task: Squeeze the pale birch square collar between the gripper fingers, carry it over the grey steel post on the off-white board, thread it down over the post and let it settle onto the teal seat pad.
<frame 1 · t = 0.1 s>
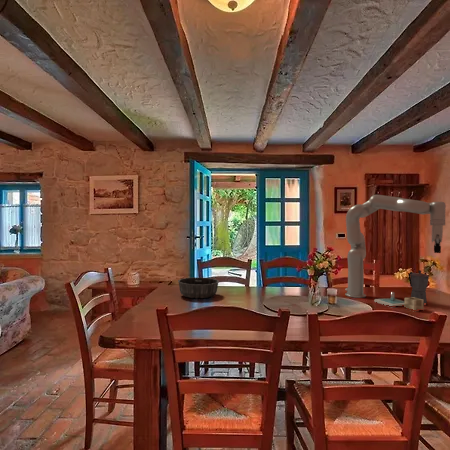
hand: (437, 252, 195), 31 cm above the table, tool pointing down, fingers open, 9 cm apart
moka pot: (417, 303, 200), on the table
post board: (392, 303, 198), on the table
bundt pan: (198, 296, 216), on the table
birch collar: (413, 309, 185), on the table
steel post: (392, 296, 198), on the post board, point 4 cm above the table
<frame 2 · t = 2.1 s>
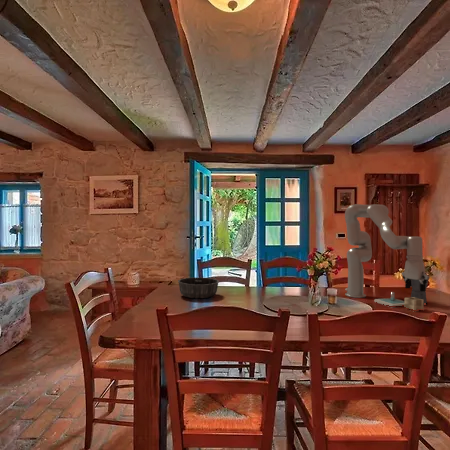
hand: (415, 289, 185), 11 cm above the table, tool pointing down, fingers open, 9 cm apart
nothing on the table moved.
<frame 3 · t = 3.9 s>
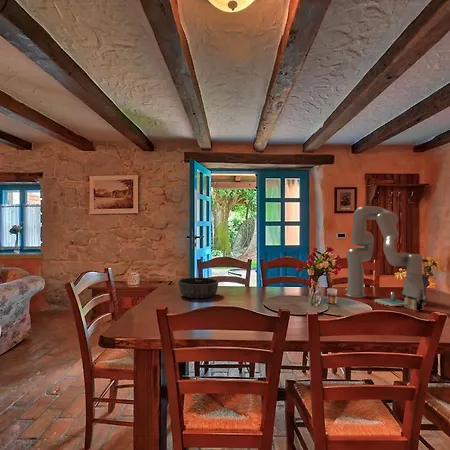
hand: (413, 308, 185), 1 cm above the table, tool pointing down, fingers closed on birch collar, 6 cm apart
birch collar: (413, 309, 185), on the table, touching gripper
everything else where it was.
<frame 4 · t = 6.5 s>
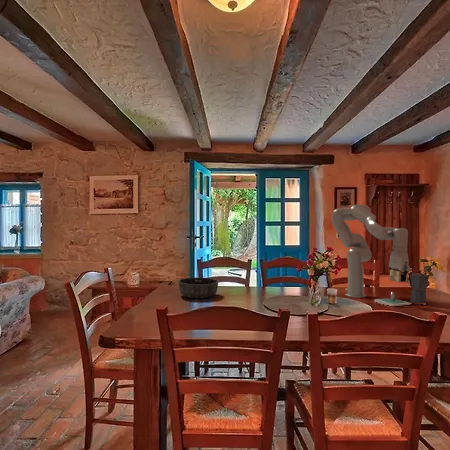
hand: (398, 279, 195), 15 cm above the table, tool pointing down, fingers closed on birch collar, 6 cm apart
birch collar: (398, 280, 195), point 14 cm above the table, touching gripper
everything else where it was.
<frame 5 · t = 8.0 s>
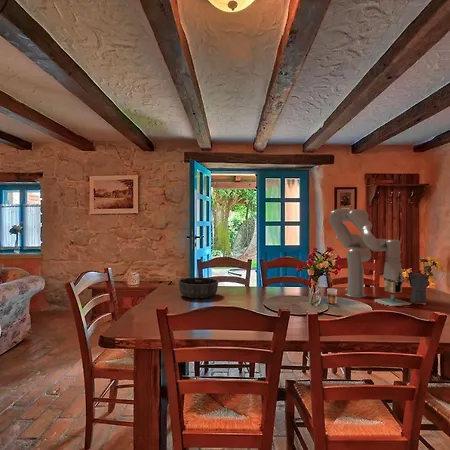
hand: (393, 290, 198), 8 cm above the table, tool pointing down, fingers closed on birch collar, 6 cm apart
birch collar: (393, 291, 198), point 7 cm above the table, touching gripper
everything else where it was.
when the fingers open (4 cm above the table, at t = 9.2 s): birch collar drops 2 cm, resting on post board.
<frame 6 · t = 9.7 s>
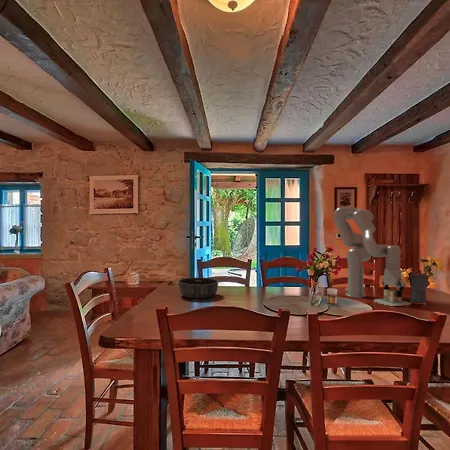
hand: (392, 295, 198), 5 cm above the table, tool pointing down, fingers open, 9 cm apart
birch collar: (392, 300, 199), point 2 cm above the table, touching post board
everything else where it was.
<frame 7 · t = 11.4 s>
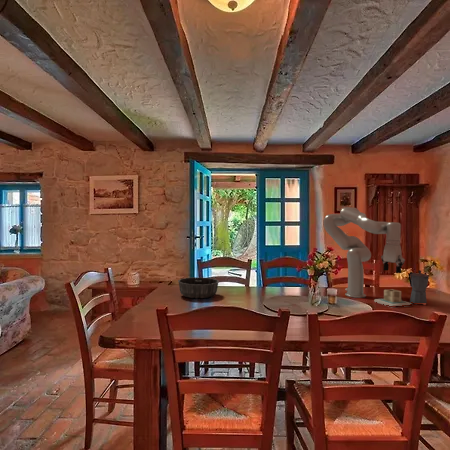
hand: (392, 271, 199), 19 cm above the table, tool pointing down, fingers open, 9 cm apart
nothing on the table moved.
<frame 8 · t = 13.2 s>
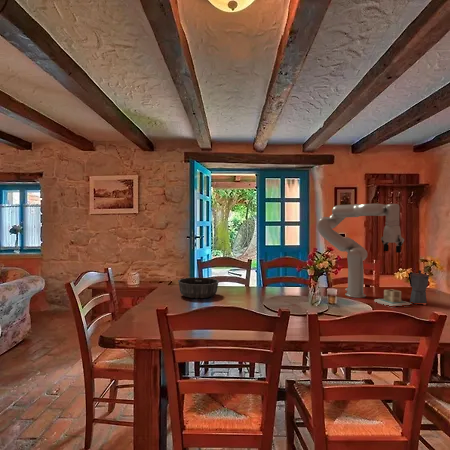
hand: (392, 251, 205), 30 cm above the table, tool pointing down, fingers open, 9 cm apart
nothing on the table moved.
at the end: birch collar 0.2 cm off-centre on the post board, point 1.8 cm above the post board's base; birch collar tilted 0°; the gripper is holding nothing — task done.
